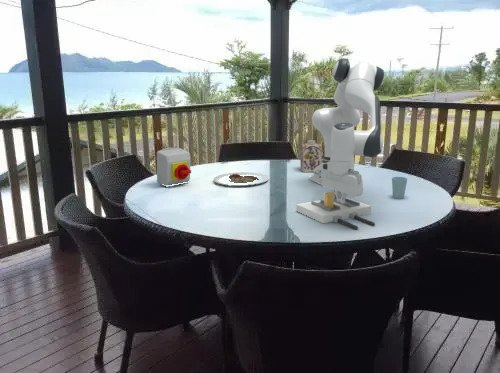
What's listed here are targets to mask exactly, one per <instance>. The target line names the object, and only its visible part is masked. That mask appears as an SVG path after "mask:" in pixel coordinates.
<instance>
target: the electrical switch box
mask: <svg viewBox="0 0 500 373" xmlns="http://www.w3.org/2000/svg"><path fill="white" fill-rule="evenodd" d="M191 173H192V170H191V153H190V152H189V151H187V150H185V149H183V148H180V147H167V148H162V149H160V150H158V151H157V152H156V182H157V184H159V183H161V184H164V185H172V184H178V183H183V182H188V181H189V182H190V179H191ZM161 184H160V185H161Z"/></svg>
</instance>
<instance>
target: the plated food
mask: <svg viewBox="0 0 500 373" xmlns="http://www.w3.org/2000/svg"><path fill="white" fill-rule="evenodd" d="M247 174H248V175H249V174H250V175H257V176H261V177H262V178H263V181H261V182H259V183H255V184H256V185H259V184H263V183H265V182H267V181H268V180H269V178H270V177H269V176H267V175H266V174H263V173H258V172H230V173H229V172H228V173H224V174H220V175H217V176H214V178H213V182H215V183H216V184H219V185H223V186H227V185H228V184H223V183H220V182H219V181H218V180H219V179H220V178H222V177H224V176H228V175H230V176H229V178H230V179H231V181H230V180H229V181H230V182H234V183H247V182H253V181H254V180H256V179H257V180H259V179H258V178H257V177H254V176H244V177H243V176H240V175H247ZM248 185H251V186H255V185H254V184H248ZM230 187H247V186H246V185H231V186H230Z"/></svg>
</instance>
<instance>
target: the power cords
mask: <svg viewBox="0 0 500 373" xmlns="http://www.w3.org/2000/svg"><path fill="white" fill-rule="evenodd" d="M348 219H351V220H357V221H359V222H362V223H364V224H367V225H370V226H372V227H373V226H375V225H376V223H375V222H374V221H372V220H368V219H366V218H363V217H362V216H358V213H356V212H352V213H350V216H349V218H348ZM332 222H334V223H335V224H336V223H339V224H341V225H344V226H346V227H349V228H351V229H352V230H358V229H359V227H358V225H356V224H353V223H351V222H349V221H346V220H345V219H342V217H341V216H339V215H338V216H333V221H332Z"/></svg>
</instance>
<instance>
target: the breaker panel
mask: <svg viewBox="0 0 500 373" xmlns="http://www.w3.org/2000/svg"><path fill="white" fill-rule="evenodd" d="M295 209H296V212H297V211H298V212H297V213H299V212H300V213H299V214H301V213H302V214H301V215H303V214H304V216H306V215H307V216H306V217H308V216H309V217H308V218H310V217H311V219H312V218H313V220H314V219H315V220H314V221H317V222H319V223H321V224H327V223H331V222H332V223H333V222H334V221H333V216H338V215H339V216H341V217H342V220H345V219H350V218H349V216H350V213H352V212H356V213H358V216H359V217H362V216H363V215H370V214H372V206H371V205H369V204H366V203H363V202H361V201H357V200H355V199H352V198H348V197H346V199H345V203H343V204H342V203H339V202H337V199H334V208H329V207H326V206H324V198H323V199H319V200H312V201H308V202H307V201H306V202H302V203H297V204H296V208H295Z"/></svg>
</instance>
